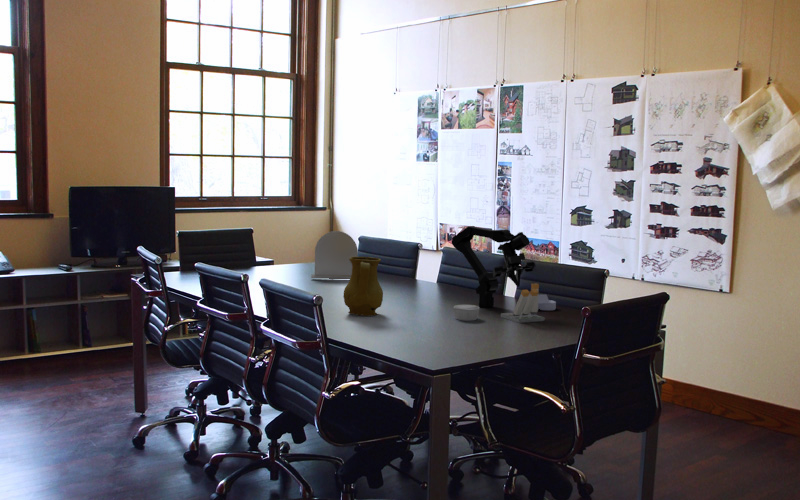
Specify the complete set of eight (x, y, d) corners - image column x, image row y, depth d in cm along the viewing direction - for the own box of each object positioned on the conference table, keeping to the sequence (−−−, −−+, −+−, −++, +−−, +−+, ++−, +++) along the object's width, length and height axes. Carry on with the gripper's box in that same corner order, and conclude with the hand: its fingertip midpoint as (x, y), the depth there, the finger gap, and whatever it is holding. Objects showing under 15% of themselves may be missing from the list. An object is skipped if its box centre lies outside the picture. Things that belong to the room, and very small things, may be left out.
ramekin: (476, 322, 316) (476, 310, 315) (450, 320, 319) (450, 308, 318) (481, 317, 326) (482, 305, 326) (456, 315, 330) (456, 303, 329)
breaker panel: (500, 316, 328) (500, 312, 328) (525, 314, 334) (525, 311, 334) (518, 322, 316) (519, 318, 316) (544, 320, 321) (544, 316, 321)
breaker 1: (512, 314, 321) (522, 289, 314) (517, 313, 322) (527, 289, 315) (514, 317, 320) (524, 292, 312) (519, 317, 321) (529, 292, 314)
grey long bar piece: (521, 313, 323) (531, 289, 316) (526, 313, 324) (536, 288, 317) (523, 316, 322) (533, 292, 314) (528, 316, 323) (538, 292, 316)
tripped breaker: (529, 314, 325) (531, 283, 324) (534, 314, 326) (536, 283, 325) (532, 315, 323) (534, 284, 322) (537, 314, 324) (539, 284, 323)
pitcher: (390, 313, 332) (391, 256, 329) (368, 320, 315) (369, 260, 313) (356, 309, 340) (357, 253, 337) (334, 315, 323) (334, 257, 321)
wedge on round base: (532, 310, 345) (558, 310, 348) (533, 296, 344) (559, 295, 347) (524, 307, 353) (550, 306, 356) (525, 293, 353) (551, 292, 356)
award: (359, 278, 436) (360, 230, 433) (361, 280, 427) (361, 232, 424) (311, 278, 433) (311, 230, 430) (311, 280, 424) (311, 231, 421)
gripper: (492, 250, 332) (501, 282, 325) (533, 244, 334) (542, 276, 327) (489, 261, 342) (497, 292, 335) (528, 254, 344) (537, 286, 337)
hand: (518, 286), depth 334 cm, fingers closed
